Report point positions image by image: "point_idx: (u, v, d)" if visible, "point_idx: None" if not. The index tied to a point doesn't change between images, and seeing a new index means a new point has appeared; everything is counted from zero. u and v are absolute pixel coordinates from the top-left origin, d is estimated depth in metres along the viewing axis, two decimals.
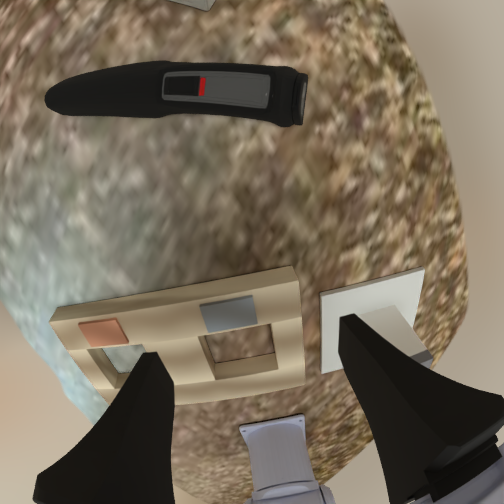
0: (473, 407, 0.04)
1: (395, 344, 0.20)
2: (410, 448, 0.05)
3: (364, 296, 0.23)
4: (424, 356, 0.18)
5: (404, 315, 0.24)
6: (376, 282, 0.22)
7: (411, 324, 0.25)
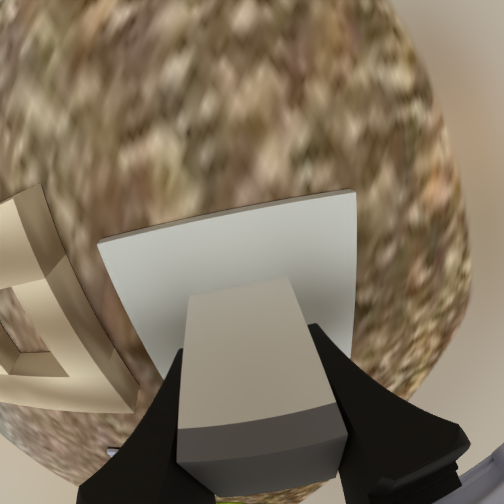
0: (422, 436, 0.04)
1: (242, 373, 0.08)
2: (356, 469, 0.05)
3: (197, 251, 0.11)
4: (317, 425, 0.06)
5: (324, 304, 0.12)
6: (219, 216, 0.10)
7: (348, 324, 0.13)
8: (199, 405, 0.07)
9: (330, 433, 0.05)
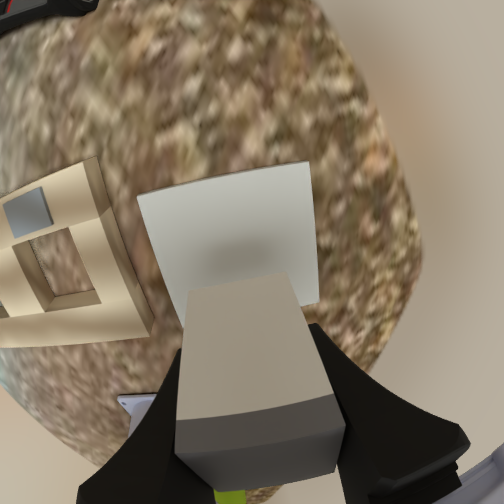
0: (422, 435, 0.04)
1: (240, 365, 0.08)
2: (356, 469, 0.05)
3: (204, 200, 0.16)
4: (315, 416, 0.06)
5: (293, 242, 0.18)
6: (219, 177, 0.16)
7: (313, 261, 0.19)
8: (197, 397, 0.07)
9: (328, 424, 0.06)
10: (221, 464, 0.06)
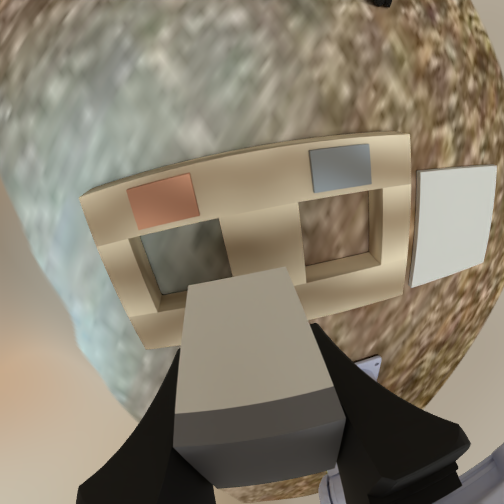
0: (422, 436, 0.04)
1: (240, 359, 0.08)
2: (357, 469, 0.05)
3: (454, 182, 0.18)
4: (315, 409, 0.06)
5: (483, 217, 0.20)
6: (462, 168, 0.18)
7: (488, 231, 0.21)
8: (196, 390, 0.07)
9: (328, 417, 0.06)
10: (220, 458, 0.06)
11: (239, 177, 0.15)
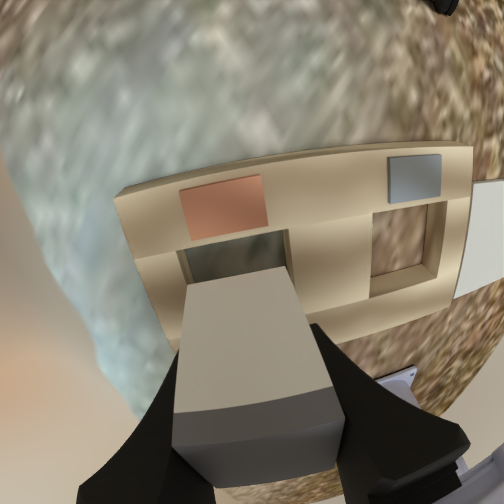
0: (422, 435, 0.04)
1: (239, 358, 0.08)
2: (356, 469, 0.05)
3: (499, 194, 0.16)
4: (314, 408, 0.06)
5: None
6: None
7: None
8: (195, 389, 0.07)
9: (327, 417, 0.06)
10: (219, 458, 0.06)
11: (315, 183, 0.13)
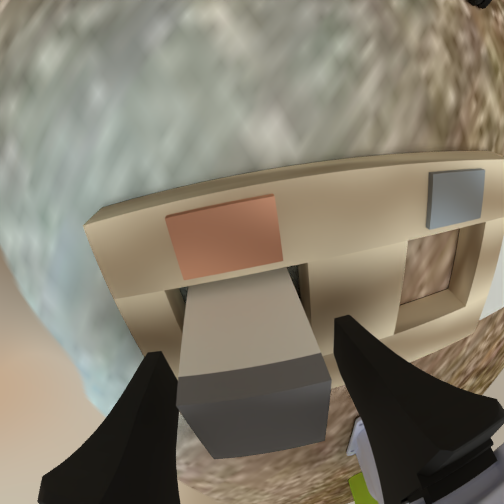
0: (467, 411, 0.04)
1: (237, 330, 0.09)
2: (403, 451, 0.05)
3: None
4: (304, 371, 0.07)
5: None
6: None
7: None
8: (198, 356, 0.08)
9: (315, 378, 0.07)
10: (218, 420, 0.07)
11: (344, 205, 0.10)
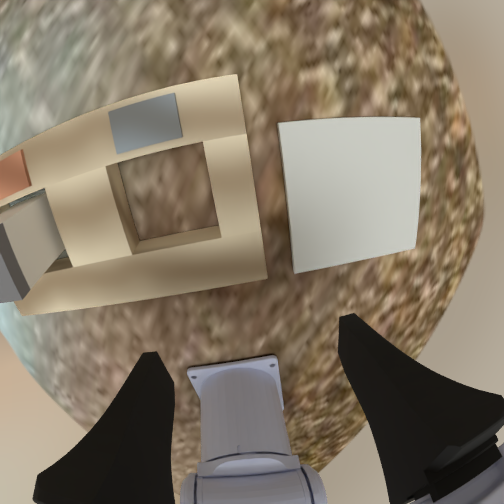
0: (473, 407, 0.04)
1: None
2: (410, 448, 0.05)
3: (342, 136, 0.16)
4: None
5: (404, 186, 0.18)
6: (355, 118, 0.15)
7: (416, 206, 0.19)
8: None
9: None
10: None
11: (55, 148, 0.13)
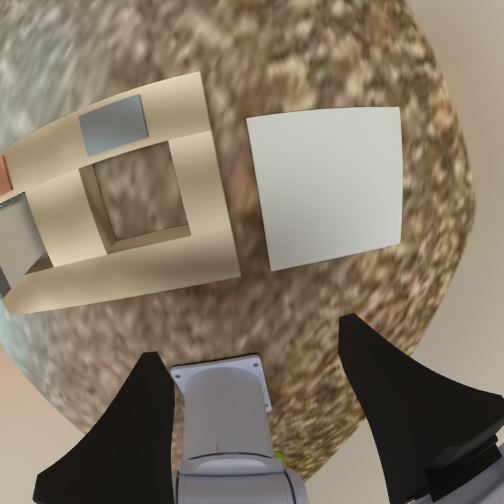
0: (473, 407, 0.04)
1: None
2: (410, 448, 0.05)
3: (314, 128, 0.16)
4: None
5: (385, 179, 0.17)
6: (328, 109, 0.15)
7: (399, 200, 0.18)
8: None
9: None
10: None
11: (32, 153, 0.13)
